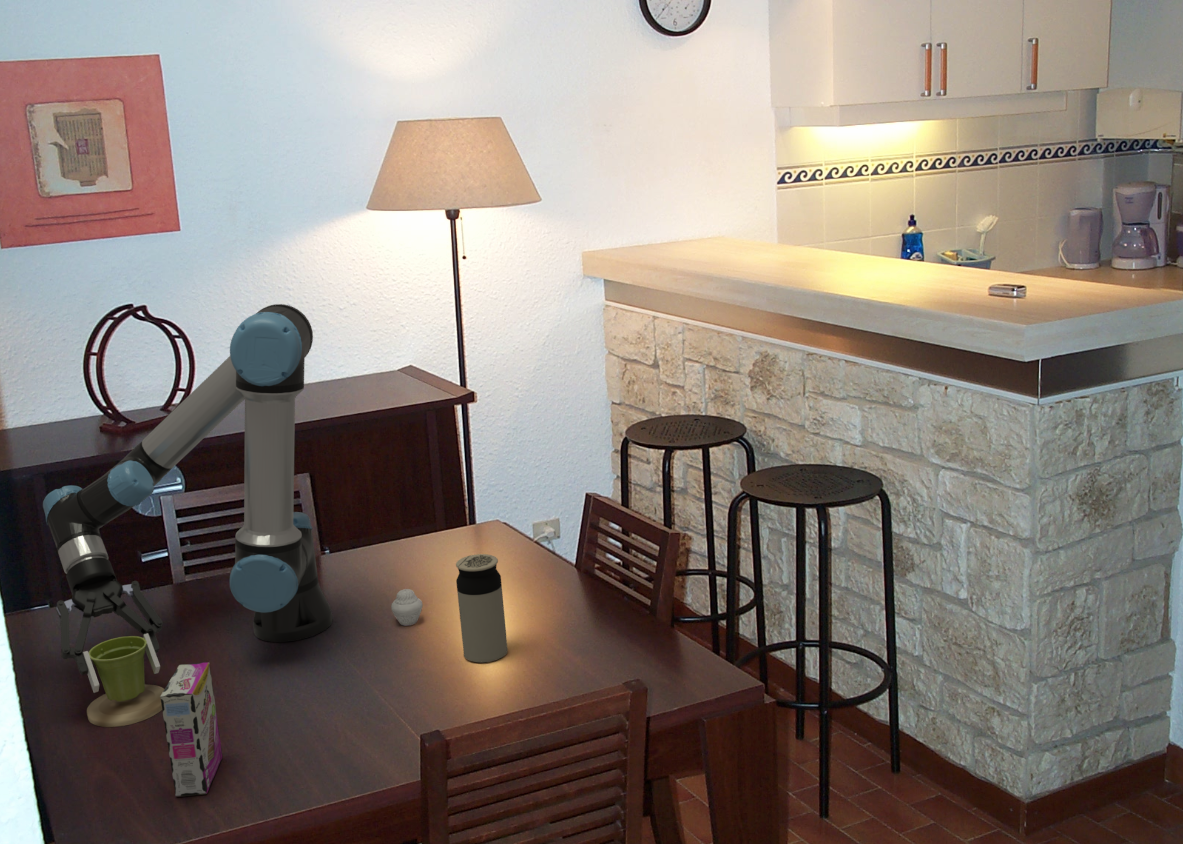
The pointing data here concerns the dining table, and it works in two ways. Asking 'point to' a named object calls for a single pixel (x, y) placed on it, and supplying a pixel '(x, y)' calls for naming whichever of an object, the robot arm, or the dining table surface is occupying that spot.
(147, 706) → the plate
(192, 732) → the candy bar box
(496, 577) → the travel mug
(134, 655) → the plant pot
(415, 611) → the muffin
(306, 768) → the dining table surface
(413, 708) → the dining table surface
